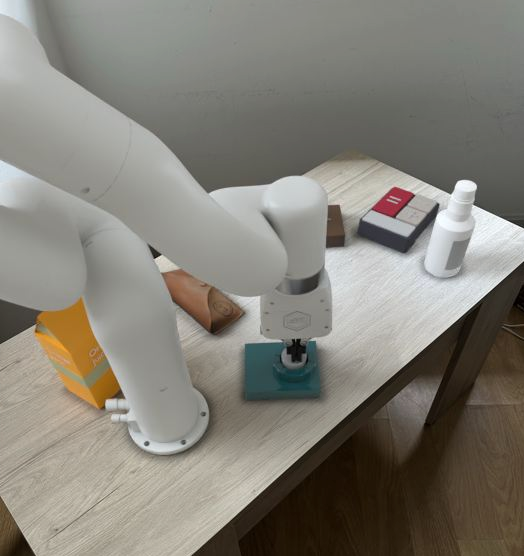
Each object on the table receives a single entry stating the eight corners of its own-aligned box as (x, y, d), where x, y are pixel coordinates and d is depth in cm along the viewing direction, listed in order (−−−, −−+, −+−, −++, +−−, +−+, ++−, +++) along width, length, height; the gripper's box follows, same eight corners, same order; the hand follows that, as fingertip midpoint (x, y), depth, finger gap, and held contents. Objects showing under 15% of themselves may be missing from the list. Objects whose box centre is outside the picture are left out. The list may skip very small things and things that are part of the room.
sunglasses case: (247, 310, 94) (230, 298, 89) (224, 341, 95) (206, 331, 89) (186, 264, 103) (167, 250, 97) (165, 292, 103) (145, 280, 98)
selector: (275, 249, 105) (274, 237, 103) (273, 219, 112) (273, 206, 109) (344, 246, 105) (345, 234, 103) (338, 216, 111) (339, 203, 109)
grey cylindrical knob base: (245, 400, 83) (244, 386, 80) (245, 351, 89) (244, 336, 86) (320, 397, 83) (321, 383, 80) (315, 348, 89) (316, 333, 86)
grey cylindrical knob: (282, 372, 83) (281, 366, 81) (281, 352, 85) (280, 346, 84) (307, 371, 82) (307, 365, 81) (305, 352, 85) (305, 345, 84)
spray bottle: (460, 280, 98) (489, 199, 84) (423, 276, 99) (445, 196, 85) (459, 256, 102) (486, 175, 88) (423, 252, 103) (444, 172, 89)
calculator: (441, 200, 107) (409, 236, 99) (436, 217, 111) (405, 254, 103) (393, 183, 112) (359, 217, 104) (390, 200, 115) (356, 234, 107)
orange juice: (66, 389, 86) (16, 306, 70) (104, 353, 90) (65, 267, 75) (100, 410, 83) (56, 328, 67) (137, 372, 87) (104, 287, 72)
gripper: (238, 293, 66) (249, 376, 80) (356, 287, 65) (345, 371, 80) (239, 253, 71) (248, 339, 85) (349, 247, 70) (340, 334, 85)
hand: (295, 354), depth 82 cm, fingers closed
